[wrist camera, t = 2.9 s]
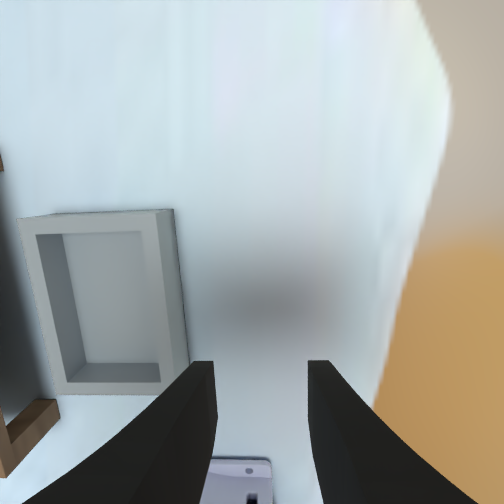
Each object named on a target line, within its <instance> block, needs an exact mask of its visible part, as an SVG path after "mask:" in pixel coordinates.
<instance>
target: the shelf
mask: <svg viewBox="0 0 504 504" xmlns="http://www.w3.org/2000/svg"><path fill="white" fill-rule="evenodd" d="M0 171H4V170H3V165H2V161H1V157H0ZM59 419H60V415H59V411H58V406H57V402H56V400H52V399H35V400H34V401H33V402H32V403H31V404H30V405H28V406H27V407H26V408H25V409H24V410H23V411H22V412H21V413H20V414H19V415H17V416H16V417H15V418H14V419H13V420H12V421H11V422H10V423H9V424H8V425H7V426H6V425H5V421H4V418H3V414H2V411H1V407H0V478H7V477H8V476H9V475H10V473H11V472H12V471H13V470H14V469H15V468H16V467H17V466H18V465H19V463H20V462H21V461H22V460H23V459H24V458H25V457H26V456H27V455H28V453H29V452H30V451H31V450H32V449H33V448H34V447H35V446H36V444H37V443H38V442H39V441H40V440H41V439H42V438H43V437H44V436H45V434H46V433H47V432H48V431H49V430H50V429H51V428H52V427H53V426H54V424H55V423H56V422H57V421H58V420H59Z"/></svg>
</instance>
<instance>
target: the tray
mask: <svg viewBox="0 0 504 504" xmlns="http://www.w3.org/2000/svg"><path fill="white" fill-rule="evenodd" d="M16 220H17V224H18V229H19V233H20V238H21V242H22V246H23V251H24V255H25V260H26V264H27V268H28V273H29V277H30V282H31V286H32V290H33V295H34V299H35V304H36V308H37V312H38V317H39V321H40V326H41V330H42V334H43V339H44V343H45V348H46V352H47V356H48V361H49V365H50V370H51V374H52V378H53V383H54V387H55V392H56V395H160V394H161V393H162V392H163V391H164V390H165V389H166V388H167V387H168V386H169V385H170V384H171V383H172V382H173V381H174V380H175V379H176V378H177V377H178V376H179V375H180V374H181V373H182V372H183V371H184V370H185V369H186V368H187V367H188V366H189V355H188V345H187V336H186V326H185V317H184V307H183V298H182V288H181V279H180V269H179V259H178V250H177V240H176V231H175V221H174V212H173V209H161V210H136V211H112V212H88V213H63V214H50V215H42V216H35V217H27V218H20V219H16Z"/></svg>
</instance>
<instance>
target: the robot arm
mask: <svg viewBox="0 0 504 504" xmlns="http://www.w3.org/2000/svg"><path fill="white" fill-rule="evenodd" d="M217 420H218V412H217V400H216V389H215V377H214V365H213V361H193V362H192V363H191V364H190V365H189V366H188V367H187V368H186V369H185V370H184V371H183V372H182V373H181V374H180V375H179V376H178V377H177V378H176V379H175V380H174V381H173V382H172V383H171V384H170V385H169V386H168V387H167V388H166V389H165V390H164V391H163V392H162V393H161V394H160V395H159V396H158V397H157V398H156V399H155V400H154V401H153V402H152V403H151V404H150V405H149V406H148V407H147V408H146V409H145V410H143V411H142V412H141V413H140V414H139V415H138V416H137V417H136V418H134V419H133V420H132V421H131V422H130V423H129V424H128V425H127V426H125V427H124V428H123V429H122V430H121V431H120V432H119V433H118V434H116V435H115V436H114V437H113V438H112V439H110V440H109V441H108V442H107V443H105V444H104V445H103V446H102V447H100V448H99V449H98V450H97V451H95V452H94V453H93V454H91V455H90V456H89V457H87V458H86V459H85V460H83V461H82V462H81V463H79V464H78V465H77V466H76V467H74V468H73V469H71V470H70V471H69V472H67V473H66V474H65V475H63V476H62V477H60V478H59V479H57V480H56V481H54V482H53V483H51V484H50V485H48V486H47V487H46V488H44V489H43V490H41V491H40V492H38V493H37V494H35V495H34V496H32V497H31V498H29V499H28V500H26V501H25V502H24V503H22V504H273V495H272V467H271V464H270V463H269V462H268V461H265V460H222V459H211V457H212V453H213V447H214V441H215V434H216V427H217ZM308 423H309V431H310V439H311V446H312V454H313V459H314V463H315V468H316V472H317V476H318V481H319V485H320V490H321V494H322V498H323V503H324V504H478V503H477V502H475V501H474V500H473V499H471V498H470V497H469V496H467V495H466V494H465V493H464V492H462V491H461V490H460V489H459V488H457V487H456V486H455V485H454V484H452V483H451V482H450V481H448V480H447V479H446V478H445V477H444V476H443V475H441V474H440V473H439V472H438V471H437V470H436V469H434V468H433V467H432V466H431V465H430V464H428V463H427V462H426V461H425V460H424V459H423V458H421V457H420V456H419V455H418V454H417V453H416V452H414V451H413V450H412V449H411V448H410V447H409V446H408V445H407V444H406V443H405V442H404V441H403V440H401V438H400V437H398V436H397V435H396V434H395V433H394V432H393V431H392V430H391V429H390V428H389V427H388V426H387V425H386V424H385V423H384V422H383V421H382V420H381V419H380V418H379V417H378V416H377V415H376V414H375V413H374V412H373V410H372V409H371V408H370V407H369V406H368V405H367V404H366V403H365V402H364V401H363V400H362V399H361V398H360V396H359V395H358V394H357V393H356V392H355V391H354V390H353V389H352V387H351V386H350V385H349V384H348V383H347V382H346V380H345V379H344V378H343V377H342V376H341V374H340V373H339V372H338V371H337V370H336V368H335V367H334V366H333V365H332V363H331V362H330V361H328V360H309V361H308Z"/></svg>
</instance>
